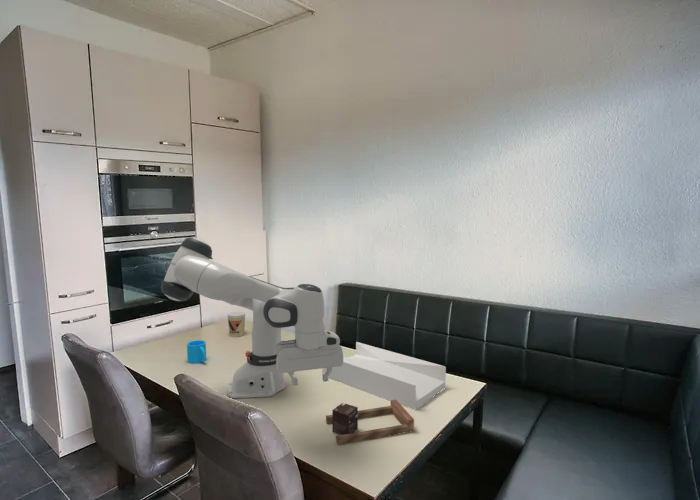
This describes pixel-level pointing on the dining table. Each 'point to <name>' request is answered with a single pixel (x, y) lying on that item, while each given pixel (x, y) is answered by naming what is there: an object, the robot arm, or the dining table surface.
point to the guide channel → (376, 433)
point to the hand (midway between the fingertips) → (310, 382)
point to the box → (344, 419)
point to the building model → (390, 375)
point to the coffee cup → (236, 324)
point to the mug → (196, 351)
